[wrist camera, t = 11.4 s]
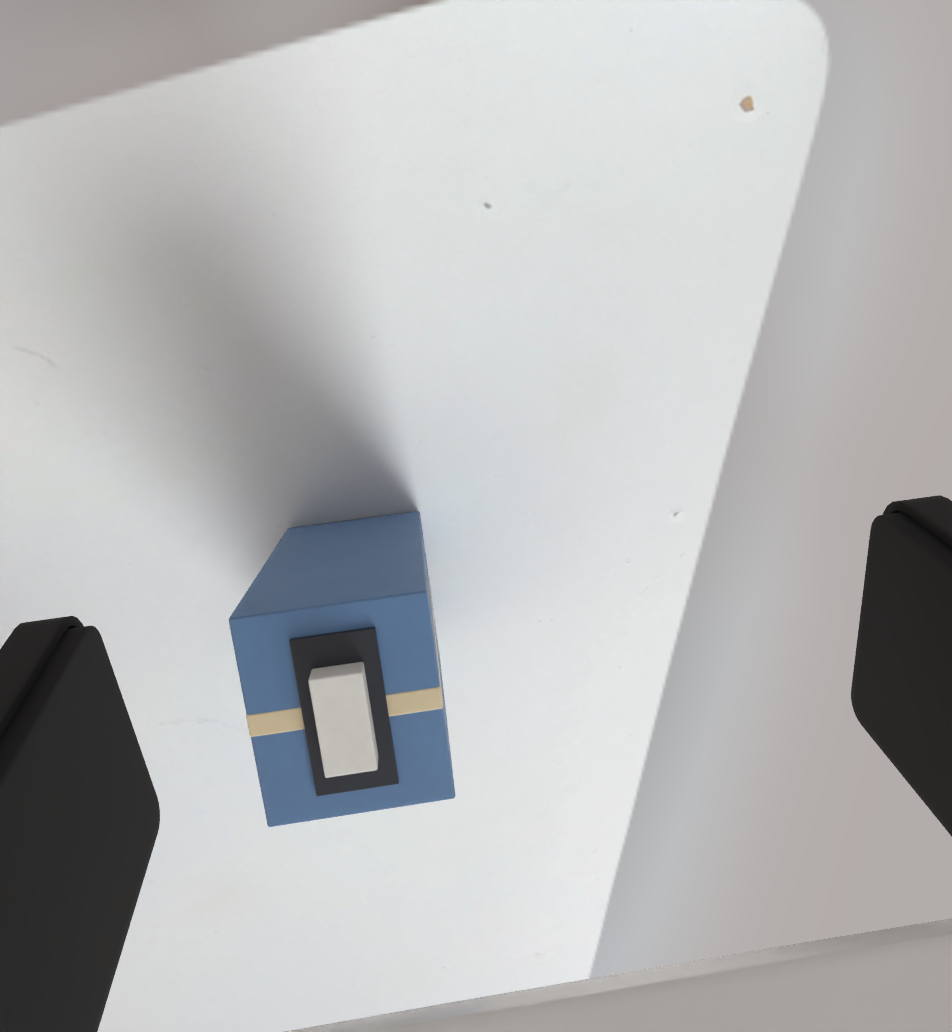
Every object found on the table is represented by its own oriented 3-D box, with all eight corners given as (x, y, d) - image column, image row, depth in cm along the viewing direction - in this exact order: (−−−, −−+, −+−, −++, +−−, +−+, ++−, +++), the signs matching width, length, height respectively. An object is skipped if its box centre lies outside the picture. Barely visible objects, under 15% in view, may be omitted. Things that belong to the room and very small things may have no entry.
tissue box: (219, 629, 24) (261, 846, 25) (428, 599, 24) (458, 815, 26) (286, 528, 38) (311, 673, 39) (420, 510, 38) (439, 654, 40)
